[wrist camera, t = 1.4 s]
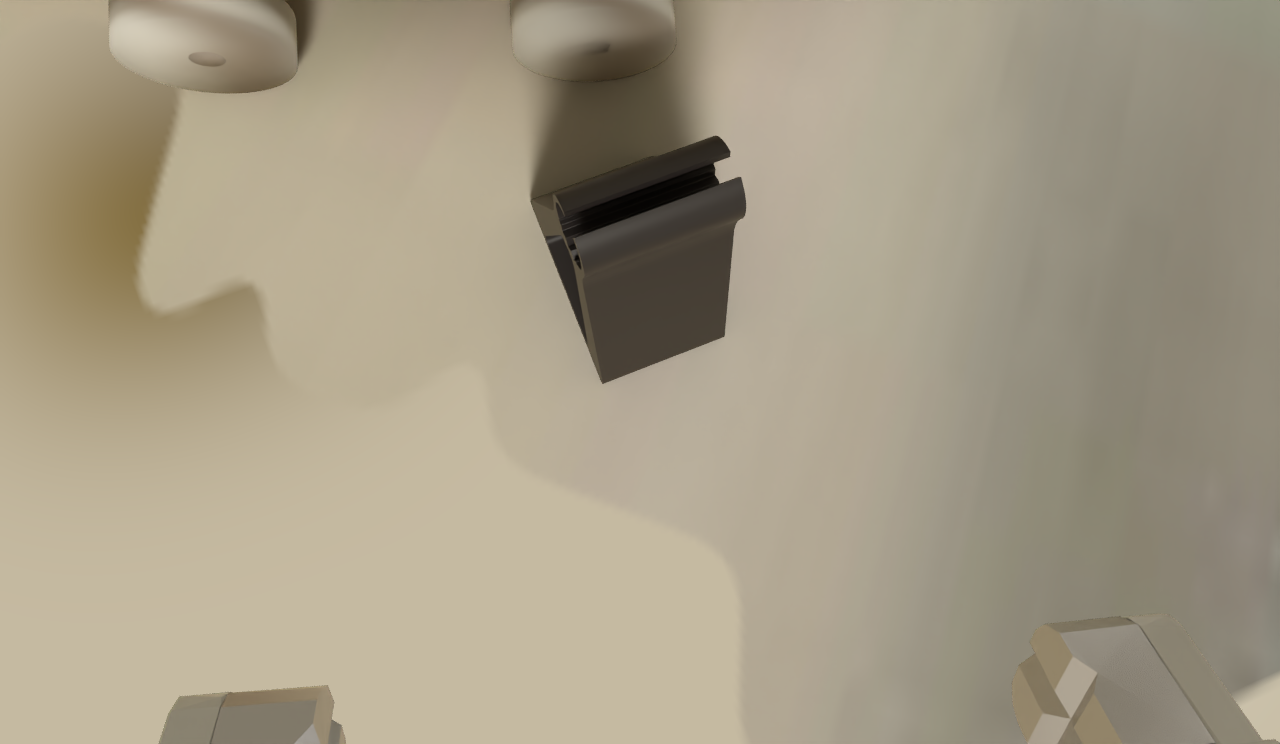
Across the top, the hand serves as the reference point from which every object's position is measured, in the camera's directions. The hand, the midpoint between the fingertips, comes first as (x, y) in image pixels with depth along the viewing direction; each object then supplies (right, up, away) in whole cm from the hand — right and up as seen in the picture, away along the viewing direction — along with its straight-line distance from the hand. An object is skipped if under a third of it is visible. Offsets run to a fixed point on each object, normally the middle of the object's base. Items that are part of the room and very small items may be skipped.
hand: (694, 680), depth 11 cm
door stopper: (-1, +8, +32) cm, 33 cm away
